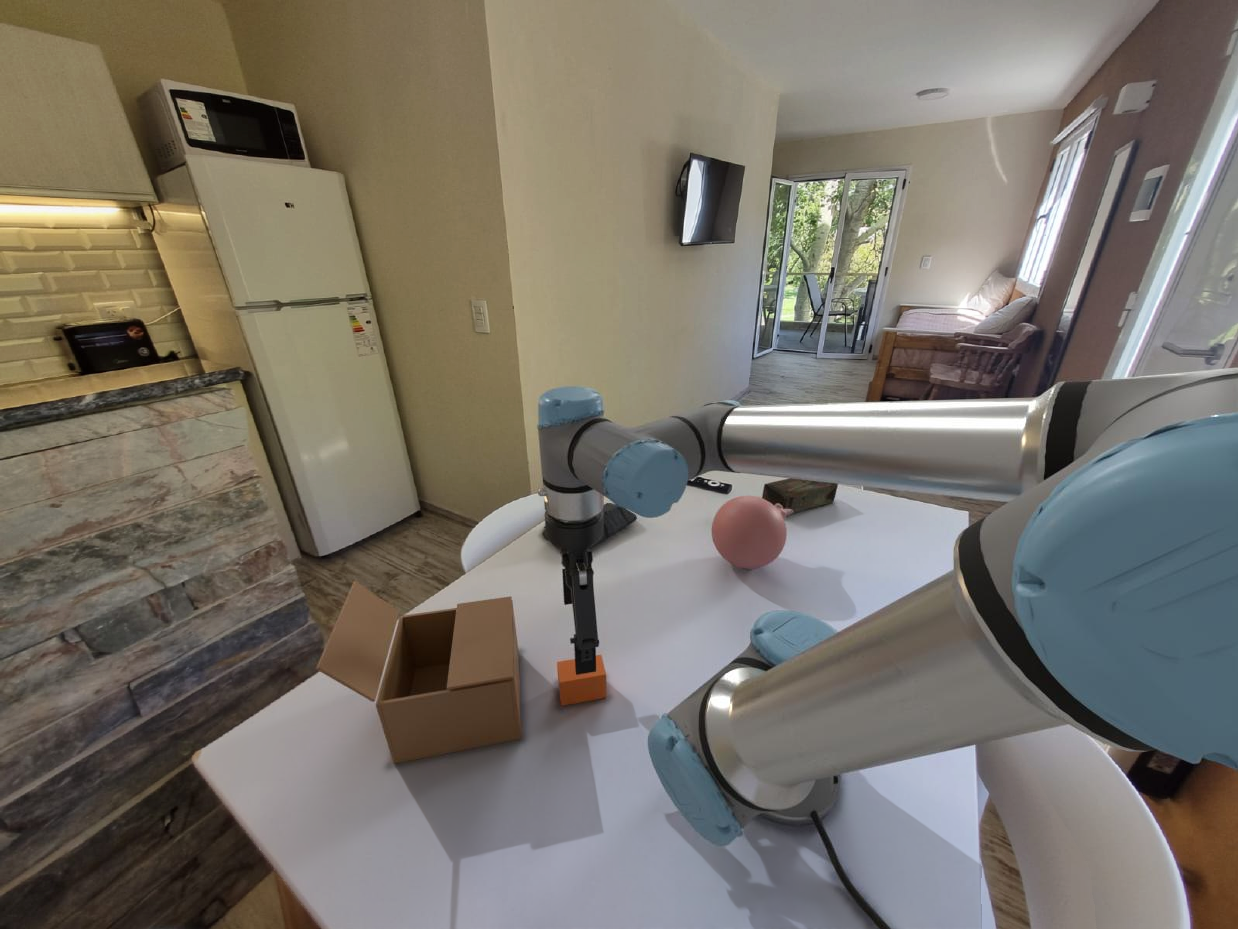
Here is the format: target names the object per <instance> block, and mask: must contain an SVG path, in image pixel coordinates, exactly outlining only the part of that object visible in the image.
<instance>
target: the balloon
mask: <svg viewBox="0 0 1238 929" xmlns="http://www.w3.org/2000/svg"><path fill="white" fill-rule="evenodd" d="M793 514H794V513H793V510H792V509H783V507H782V505H780V504H779V503H777V504H775V506H774V505H773V504H771V503H770V502H768V501H767V500H765V499H762V497H760V496H755V495H740V496H736V497H733V498H731V499H729V500H727V501H725V502H724V503H723V504H722V505H721V506H720V507H719V509H717V511H716V513H715V514H714V518H713V519H712V522H711V538H712V543H713V545H714V547H715V549H716V551H717V553H719V555H720V556H721V558H723V559H724V560H725V561H727V562H728V563H729V564H731V565H733V566H736V567H738V568H740V569H748V570H751V569H759V568H763V567H766V566H768V565H769V564H771V563H773V562H774V561H775V560H776V559H777V558H778V557H779V556H780V555H781V553H782V552H783V550H784V548H785V545H786V542H787V537H788V536H787V525H786V520H787V517H788V516H790V515H793Z"/></svg>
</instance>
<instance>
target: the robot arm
mask: <svg viewBox="0 0 1238 929" xmlns="http://www.w3.org/2000/svg"><path fill="white" fill-rule="evenodd" d="M537 412H538V413H537V414H538V416H537V418H538V421H537V422H538V423H537V425H536V428H537V432H538V444H539V457H540V466H541V467H540V469H541V477H542V488H539V489H538V490H537V495H538V496H539V497H543V503H544V504H543V506H544V510H545V511H544V527H545V528H544V530H545V529H546V537H547V539H546V540H548V542H549V543H550V544H551V545H553V546H554V545H555V546H556V547H559V548H560V550H559V554H560V557H561V560H560V561H561V565H562V567H563V568H562V569H561V572H562V587H563V589H562V592H563V604H564V606H566V605H571V606H572V613H573V623H574V634H573V637H570V638H569V643H570V645H572V644H573V647H574V650H573V651H574V659H575V671H576V675H579V674H585V673H591V672H596V655H597V648H599V646H600V639H599V634H598V633H599V632H598V625H597V624H598V623H597V622H598V621H597V611H596V599H595V588H594V574H595V572H594V571H595V570H594V569H593V566H592V564H593V563H594V562H593V561H594V558H593V557H594V556H593V551H592V549H589V548H590V547H591V546H592V545H594V544H596V543H597V542H598V541H599V540H600V539H601V538H602V536H603V532H604V513H603V507H604V504H605V498H607V499H608V500H609V501H610V502H611V503H612V504H616V505H617V506H619V507H623V508H625V509H627V510H629V511H630V512H632V513H634V514H635V515H638V516H639V517H641V518H645V519H653V518H659V517H662V516H663V515H666V514H667V513H669V512H670V511H671V510H672V507H673V505H674V504H677V503H678V502H680V500H681V498H682V496H683V495H684V493H685V491H686V489H687V484H688V482H689V481H690V480H692V479H694V478H697V477H700V476H702V475H705V474H707V473H709V472H724V473H732V474H733V473H735V474H747V475H757V476H765V477H775V478H783V479H784V478H785V479H789V478H792V479H801V480H810V481H819V482H828V483H837V484H838V485H845V486H855V487H863V488H874V489H882V490H891V491H901V492H911V493H919V494H927V495H938V496H947V497H955V498H965V499H974V500H983V501H991V502H1000V503H1005V504H1004V505H1002V506H1000V507H999V508H997V509H995V510H993V511H992V512H990V513H988V514H987V515H985V516H983V517H982V518H980V519H979V520H977V521H976V522H974V523H972V524H971V525H969V526H967V527H966V528H964V529H963V530H962V531H961V532H960V533H959V534H958V536H957V537H956V539H955V542H954V546H953V569H951V570H949V571H948V572H945V573H944V574H942V575H940V576H938V577H936V578H935V579H933V580H931V581H929V582H927V583H925V584H923V585H922V586H920V587H918V588H916V589H915V590H913V591H911V592H909V593H907V594H905V595H904V596H902V597H899V598H898V599H896V600H895V601H893V602H890V603H888V604H887V605H885V606H883V607H882V608H880V609H878V610H876V611H874V612H872V613H871V614H869V615H867V616H865V617H862V618H861V619H860V620H857V621H856V622H854V623H852V624H850V625H849V626H846V627H844V628H843V629H841V630H840V631H838V630H837V629H836V628H834V626H832V625H830V624H829V623H826V622H825V621H823V620H822V619H819V618H817V617H816V616H812V615H810V614H808V613H804V612H800V611H792V610H787V609H779V610H777V609H776V610H772V611H768V612H765V613H764V614H762V615H760V616H759V617H758V618H757V619H756V620H755V622H754V624H753V627H752V628H751V630H750V632H749V639H750V642H749V644H748V646H747V647H746V649H745V650H744V651H742V652H741V653H740V654H739V655H738V656H736V657H735V658H734V659H732V661H731V662H729V663H728V664H727V665H725V666H724V667H723V668H721V669H720V670H719V671H718V672H717V673H715V674H714V675H713V676H712V677H710V678H709V679H708V680H706V681H705V682H704V683H703V684H702V685H700V687H698V688H697V689H696V690H694V691H693V692H692V693H691V694H690V695H688V696H687V697H686V698H684V700H682V701H681V702H680V703H679V704H677V705H676V706H675V707H674V708H673V709H671V710H670V711H668V712H667V713H666V712H665V713H663V714H662V715H661V718H660V719H659V720H658V721H657V722H656V723H655V724H654V725H653V726H652V727H651V728H650V729H649V732H648V735H647V751H648V754H649V757H650V760H651V763H652V767H653V769H654V771H655V773H656V775H657V777H658V779H659V781H660V783H661V785H662V787H663V789H664V791H665V792H666V794H667V795H668V797H669V799H670V800H671V802H672V803H673V805H674V806H675V808H676V809H677V810H678V812H679V813H680V815H681V816H682V817H683V818H684V820H685V821H686V822H687V823H688V824H689V825H690V827H692V829H694V831H695V832H696V833H698V835H699V836H701V837H702V838H703V839H705V841H707V842H709V843H710V844H712V845H715V846H717V847H726V846H729V845H730V844H731V843H732V842H733V841H734V840H735V839H736V838H737V837H738V838H740V837H742V835H743V834H744V831H743V829H744V828H745V827H746V826H747V825H748V824H749V823H750V822H751V821H752V820H753V819H754V818H756V817H758V816H760V817H763V818H765V819H767V820H769V821H771V822H774V823H777V824H781V825H785V826H806V825H810V824H814V826H815V828H816V830H817V832H818V835H819V837H820V839H821V841H822V844H823V845H824V848H825V850H826V852H827V853H826V854H828V858H829V860H830V863H831V865H832V867H833V869H834V871H835V873H836V875H837V877H838V878H839V880H840V882H841V883H842V885H843V886H844V888H845V889H846V891H847V892H848V893H849V895H850V897H852V899H853V900H854V902H856V904H857V905H858V906H859V908H860V909H861V910H862V911H863V912H864V913H865V914H866V916H868V918H869V919H870V920H871V921H872V922H873V923H874V924H875V925H876V926H877V928H878V929H892V928H891V927H890V926H889V925H888V924H887V922H886V921H885V920H884V919H883V918H882V917H881V916H880V915H879V914H878V913H877V911H876V910H875V909H874V908H873V907H872V906H871V905H870V904H869V903H868V902H867V900H865V898H864V897H863V896H862V895H861V893H860V892H859V891H858V889H857V887H855V886H854V884H853V883H852V881H851V880H850V877H848V875H847V874H846V872H845V870H844V868H843V866H842V864H841V862H840V860H839V856H838V855H837V852H836V850H835V848H834V846H833V844H832V840H831V839H830V837H829V835H828V832H827V830H826V829H825V826H824V824H823V822H822V819H823V818H824V817H825V816H827V814H829V813H830V811H831V810H832V808H833V807H834V805H835V803H836V800H837V797H838V794H839V792H840V788H841V779H842V778H841V777H842V775H844V774H848V773H849V774H850V773H854V772H858V771H862V770H867V769H872V768H876V767H880V766H886V765H889V764H894V763H898V762H903V761H907V760H912V759H918V758H921V757H926V756H931V755H936V754H940V753H945V752H950V751H953V750H959V749H963V748H967V747H970V746H971V747H972V746H976V745H980V744H985V743H990V742H994V741H1000V740H1003V739H1009V738H1012V737H1017V736H1021V735H1027V734H1032V733H1036V732H1039V731H1044V730H1049V729H1050V730H1051V729H1054V728H1059V727H1063V726H1067V725H1069V726H1071V727H1073V728H1075V729H1076V730H1078V731H1079V732H1081V733H1083V734H1085V735H1087V736H1088V737H1091V738H1092V739H1094V740H1096V741H1098V742H1100V743H1102V744H1104V745H1107V746H1108V747H1109V746H1110V747H1111V748H1114V749H1118V750H1121V751H1125V752H1133V753H1134V752H1135V753H1136V752H1137V753H1144V752H1151V751H1159V752H1161V753H1164V754H1167V755H1170V756H1173V757H1174V758H1177V759H1180V760H1183V761H1185V762H1187V763H1190V764H1193V765H1197V764H1200V763H1201V762H1202V759H1204V760H1207V761H1211V762H1215V763H1218V764H1221V765H1224V766H1226V767H1228V768H1231V769H1232V770H1234V771H1235V770H1236V771H1237V772H1238V367H1237V366H1236V367H1227V368H1216V369H1205V370H1195V371H1186V372H1176V373H1165V374H1164V373H1163V374H1153V375H1152V374H1151V375H1142V376H1140V375H1139V376H1131V377H1118V378H1108V379H1107V378H1106V379H1091V380H1090V379H1089V380H1068V381H1065V380H1064V381H1059V382H1057V383H1055V384H1054V385H1052V386H1051V387H1050V388H1048V389H1047V390H1046V391H1044V392H1043V393H1041V395H1039V396H1036V397H1009V398H1008V397H1007V398H1004V397H1003V398H972V399H971V398H970V399H969V398H968V399H933V400H932V399H931V400H899V401H898V400H897V401H864V402H827V403H823V402H822V403H792V404H788V403H787V404H758V405H757V404H756V405H755V404H754V405H753V404H751V405H744V404H743V403H742V402H739V401H737V400H731V399H727V400H722V401H714V402H708V403H705V404H704V405H702V406H699V407H697V408H694V409H691V410H687V411H684V412H680V413H677V414H675V415H671V416H668V417H665V418H661V419H658V420H655V421H651V422H648V423H645V424H642V425H638V426H635V427H626V426H623V425H621V424H619V423H617V422H614V421H611V420H610V419H608V418H605V417H604V414H605V408H604V402H603V397H602V396H601V395H600V393H599V392H598V391H597V390H596V389H593V388H591V387H586V386H579V385H578V386H577V385H575V386H574V385H569V386H559V387H555V388H551V389H549V390H547V391H545V392H543V393H542V394H541V395H540V396H539V399H538V401H537ZM555 546H554V547H555ZM556 547H555V548H556Z"/></svg>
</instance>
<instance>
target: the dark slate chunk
mask: <svg viewBox="0 0 1238 929" xmlns="http://www.w3.org/2000/svg"><path fill="white" fill-rule="evenodd" d="M603 513H604V532H603V536H602V538H601V539H600V540H599V541H598V542H597V543H596V544H594V545H592V546H591V547H590V548H589V549H588V550H592V549H593V548H595V547H598V545H601V544H603V543H605V542H606V541H607V540H608V539H609V538H611V537H613V536H615V535H617V534H618V533H619V532H621V531H623V530H624V529H626V528H627V527H628V526H630V525H631V524H633V523H635V522H636V521H637V519H638V516H637V514H636V513H634V512H632V511H630V510H628V509H625V508H623V507H619V506H617V505H616V504H614V503H613V502H606V503H604V507H603ZM543 529H544V530H542V532H541V533H542V536H543V538H544V539H545V540H548V539H547V537H546V529H545V526H544V527H543ZM553 547H555V548H556V549H558V550H559V551H560V548H559V547H556V546H555V545H553Z"/></svg>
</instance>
